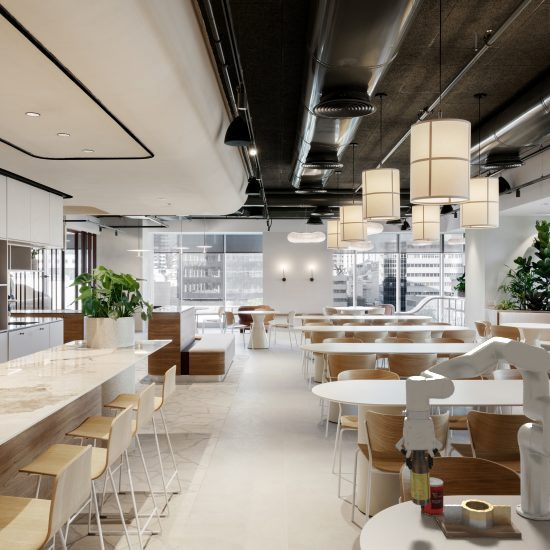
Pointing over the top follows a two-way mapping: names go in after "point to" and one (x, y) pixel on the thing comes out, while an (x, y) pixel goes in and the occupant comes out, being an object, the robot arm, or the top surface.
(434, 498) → the canned food
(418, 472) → the sauce bottle
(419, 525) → the top surface
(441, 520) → the walnut board
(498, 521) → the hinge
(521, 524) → the top surface
